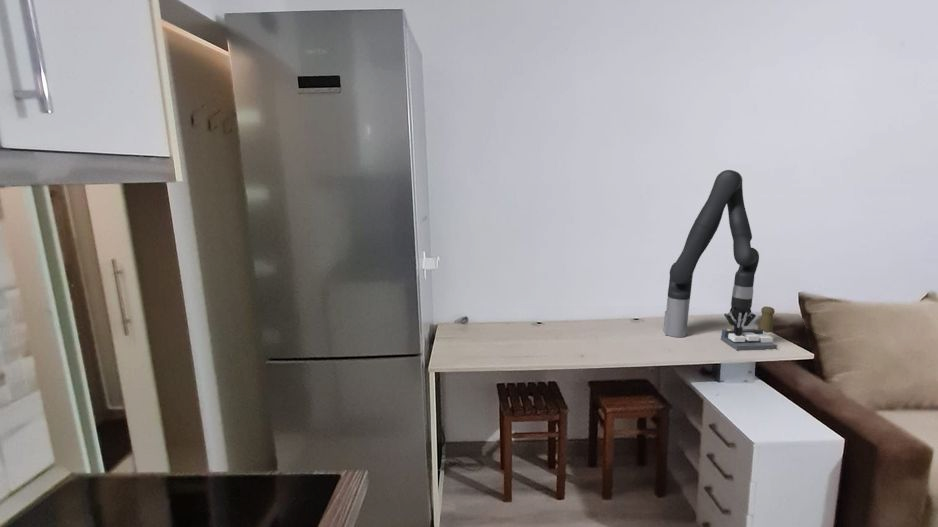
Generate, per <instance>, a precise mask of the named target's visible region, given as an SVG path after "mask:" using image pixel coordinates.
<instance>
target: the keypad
mask: <svg viewBox="0 0 938 527" xmlns="http://www.w3.org/2000/svg"><path fill="white" fill-rule="evenodd" d="M746 332H753V333H755V334H764V332H763V330H762V329H760V328H758V327H755V328H743V330H742V333H746ZM729 333H734V328H723V329H722V330H721V336H720V341H722V342H723V343H724V344H727V346H730V347H731V348H732V349H733V350H736V351H767V350H766V349H776V350H777V347H778V344H776V343H774V342H773V341H772V342H765V343H762V342H760V341H748V340H746V339H745V342H734V341H732V340H731V339H729V338H728V334H729ZM741 335H742V334H741Z"/></svg>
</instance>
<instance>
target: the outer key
mask: <svg viewBox="0 0 938 527" xmlns="http://www.w3.org/2000/svg"><path fill="white" fill-rule="evenodd" d="M756 335H758V336H759V341H760V342H762V343H765V342H772V343H773V341H774V338H773V336H770V335H769V334H767V333H763V334H756Z"/></svg>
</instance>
